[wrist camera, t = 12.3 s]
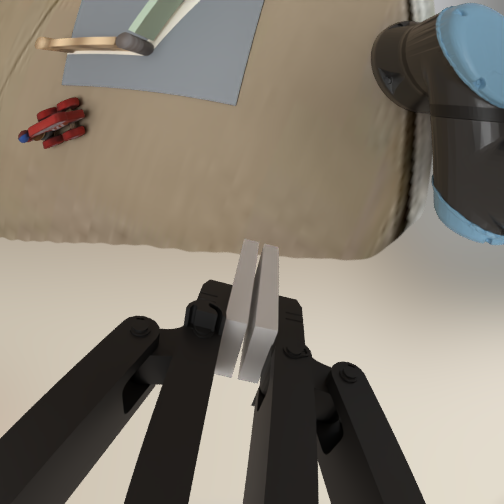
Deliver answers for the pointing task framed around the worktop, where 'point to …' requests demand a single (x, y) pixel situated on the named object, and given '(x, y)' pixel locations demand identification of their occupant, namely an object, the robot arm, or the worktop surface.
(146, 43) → the fixed fence panel
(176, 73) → the card
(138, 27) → the hinged fence panel
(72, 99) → the toy fire truck
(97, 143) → the worktop surface
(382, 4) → the worktop surface
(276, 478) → the robot arm
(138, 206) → the worktop surface
